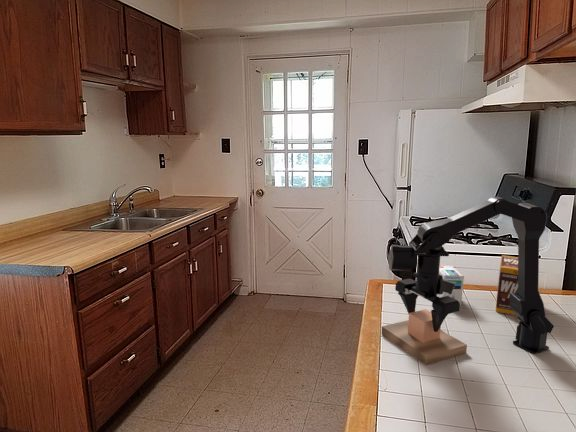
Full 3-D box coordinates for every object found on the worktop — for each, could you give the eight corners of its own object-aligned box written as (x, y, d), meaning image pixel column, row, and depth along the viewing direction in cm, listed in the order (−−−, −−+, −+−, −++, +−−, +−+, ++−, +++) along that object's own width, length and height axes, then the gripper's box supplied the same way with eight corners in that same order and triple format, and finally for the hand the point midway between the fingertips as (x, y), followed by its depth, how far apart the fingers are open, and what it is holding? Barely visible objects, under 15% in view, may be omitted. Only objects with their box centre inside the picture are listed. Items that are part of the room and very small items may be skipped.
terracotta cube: (439, 338, 113) (441, 317, 112) (422, 342, 111) (424, 321, 110) (423, 328, 119) (425, 309, 117) (407, 332, 116) (409, 312, 115)
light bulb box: (461, 305, 140) (464, 275, 138) (441, 305, 141) (444, 275, 138) (450, 293, 151) (453, 265, 149) (431, 293, 151) (434, 265, 149)
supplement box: (495, 312, 136) (500, 266, 133) (496, 296, 149) (501, 254, 146) (531, 318, 131) (538, 272, 128) (529, 301, 144) (535, 258, 141)
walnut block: (465, 355, 110) (467, 344, 110) (426, 367, 105) (427, 356, 104) (418, 326, 126) (418, 317, 126) (381, 335, 120) (381, 326, 120)
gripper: (478, 277, 106) (472, 333, 109) (425, 257, 123) (421, 306, 126) (446, 283, 102) (440, 342, 105) (395, 262, 118) (392, 313, 121)
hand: (423, 324), depth 114 cm, fingers open, 9 cm apart
